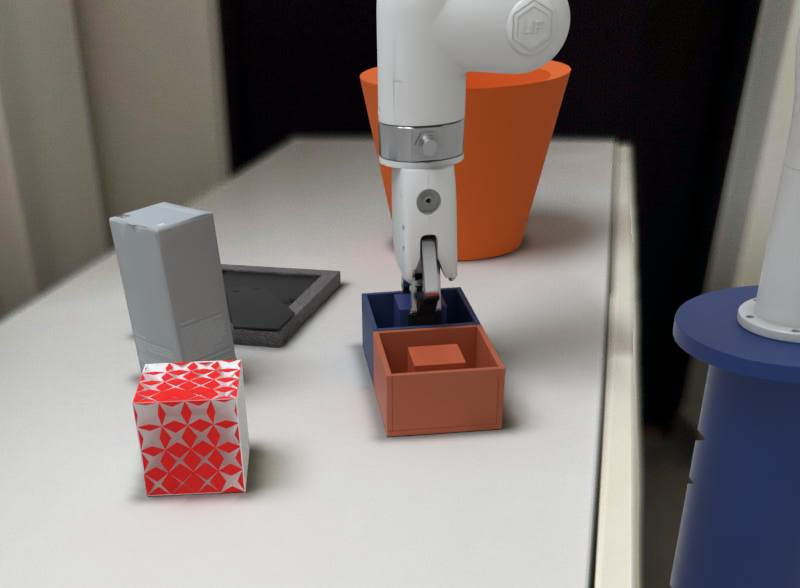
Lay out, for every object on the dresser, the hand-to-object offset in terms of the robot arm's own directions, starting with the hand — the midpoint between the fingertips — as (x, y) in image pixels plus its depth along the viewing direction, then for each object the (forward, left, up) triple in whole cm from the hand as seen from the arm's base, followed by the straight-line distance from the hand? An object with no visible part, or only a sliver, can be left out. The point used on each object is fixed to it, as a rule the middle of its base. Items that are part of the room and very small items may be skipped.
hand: (420, 341), depth 103 cm
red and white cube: (+21, +21, -2) cm, 30 cm away
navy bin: (0, 0, -2) cm, 2 cm away
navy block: (0, 0, 0) cm, 0 cm away
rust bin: (0, +11, -2) cm, 11 cm away
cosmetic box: (+23, +1, -2) cm, 23 cm away
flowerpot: (-11, -40, -2) cm, 42 cm away
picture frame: (+17, -19, -2) cm, 26 cm away
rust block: (0, +11, -2) cm, 11 cm away
